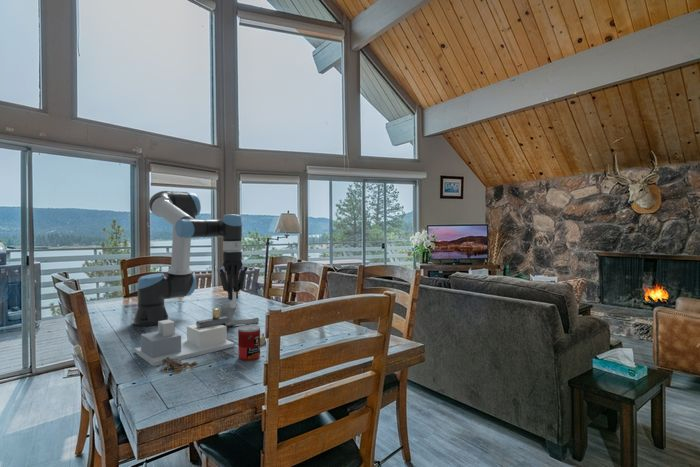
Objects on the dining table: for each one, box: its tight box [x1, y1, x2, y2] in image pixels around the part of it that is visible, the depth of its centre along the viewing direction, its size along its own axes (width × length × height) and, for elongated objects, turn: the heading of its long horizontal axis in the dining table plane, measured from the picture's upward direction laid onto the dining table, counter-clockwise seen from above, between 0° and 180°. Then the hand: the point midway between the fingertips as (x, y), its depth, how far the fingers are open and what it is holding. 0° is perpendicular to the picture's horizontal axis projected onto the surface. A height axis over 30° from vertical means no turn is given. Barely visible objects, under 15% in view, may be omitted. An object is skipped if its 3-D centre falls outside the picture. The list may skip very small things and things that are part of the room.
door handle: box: [219, 303, 260, 328], centre depth 191 cm, size 18×8×20 cm
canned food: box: [237, 324, 261, 362], centre depth 143 cm, size 8×8×11 cm
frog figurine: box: [161, 357, 199, 374], centre depth 132 cm, size 12×12×4 cm
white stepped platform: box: [134, 319, 235, 367], centre depth 152 cm, size 20×30×12 cm, turn 135°
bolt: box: [196, 307, 229, 328], centre depth 159 cm, size 3×12×6 cm, turn 135°
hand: (233, 307), depth 165 cm, fingers closed
